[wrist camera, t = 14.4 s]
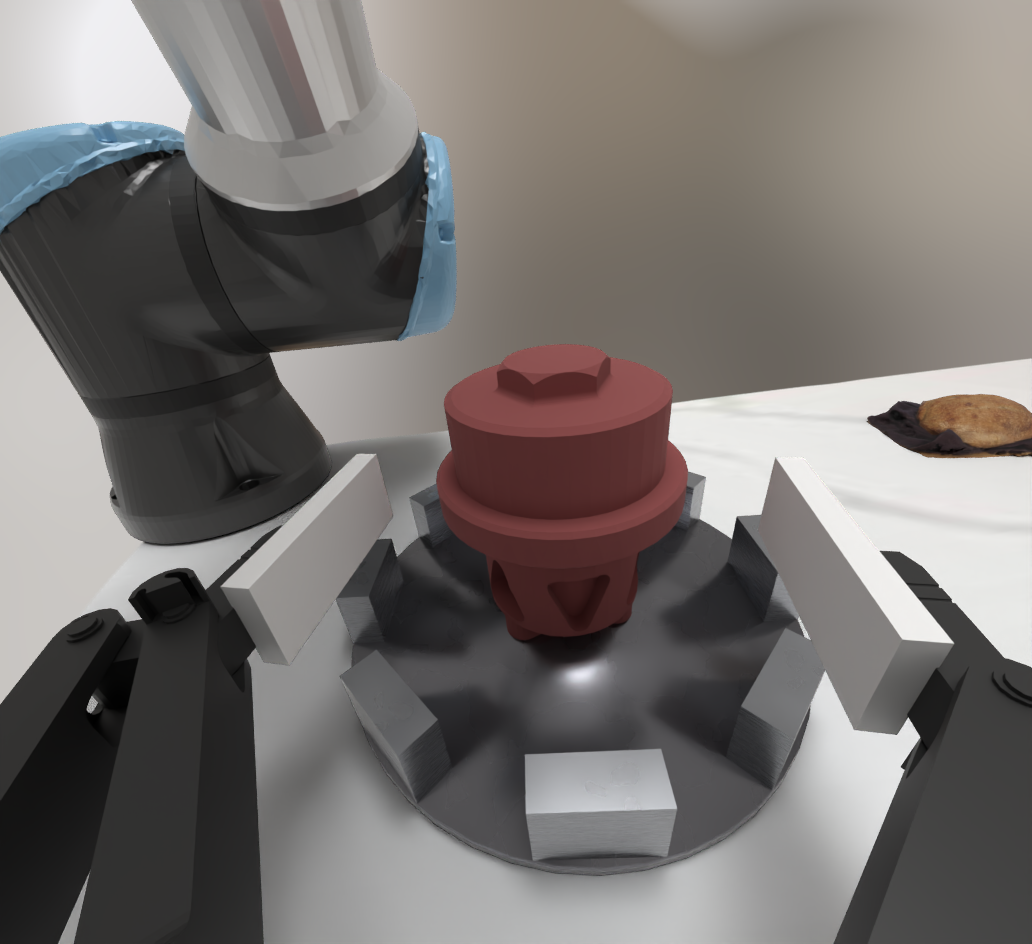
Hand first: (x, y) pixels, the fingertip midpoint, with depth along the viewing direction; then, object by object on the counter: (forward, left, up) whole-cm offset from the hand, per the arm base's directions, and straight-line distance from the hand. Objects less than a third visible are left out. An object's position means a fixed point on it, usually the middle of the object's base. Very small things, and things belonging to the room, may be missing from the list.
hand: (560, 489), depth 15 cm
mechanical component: (-3, 0, -9) cm, 9 cm away
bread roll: (-19, +33, -10) cm, 39 cm away
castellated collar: (-3, 0, -9) cm, 10 cm away
